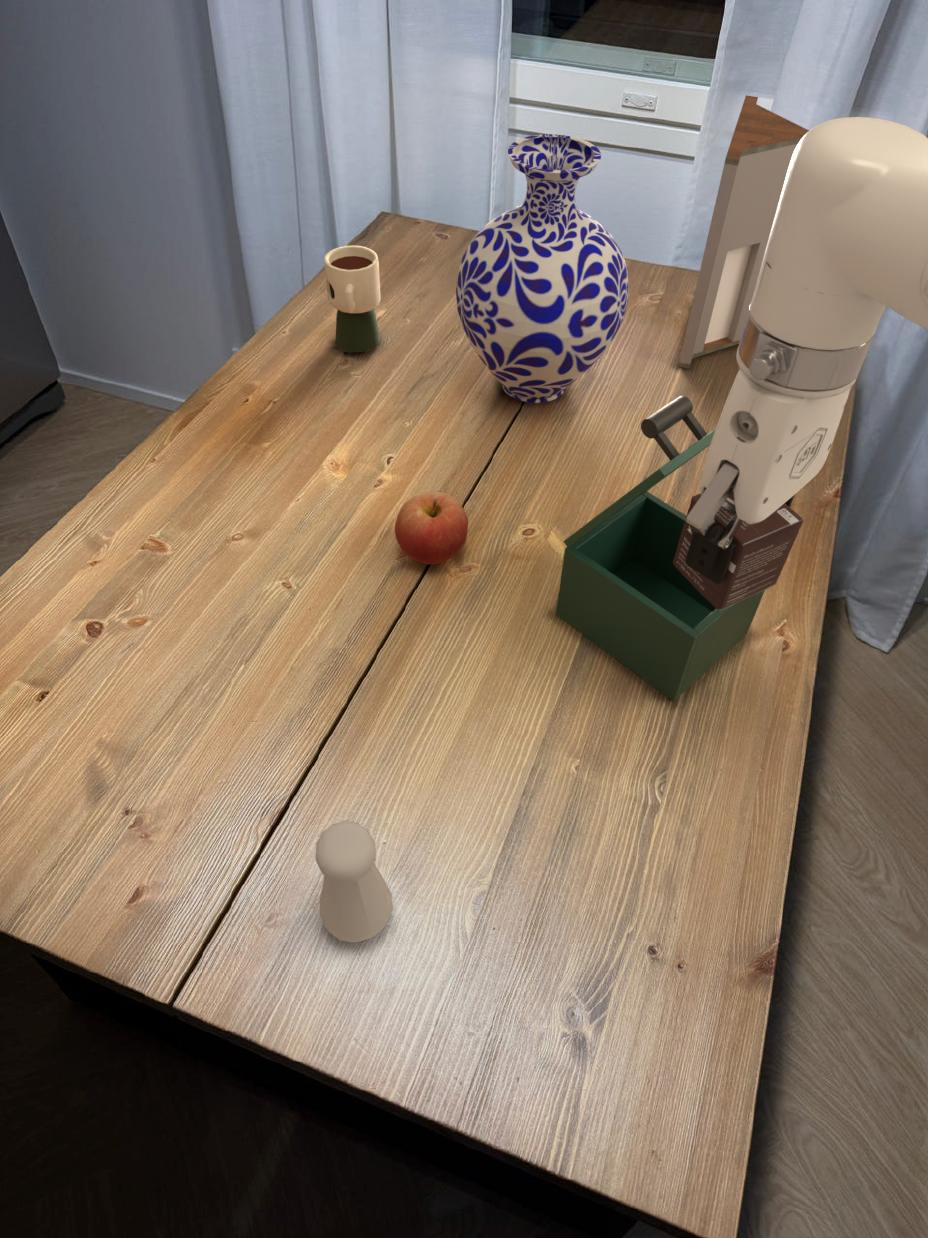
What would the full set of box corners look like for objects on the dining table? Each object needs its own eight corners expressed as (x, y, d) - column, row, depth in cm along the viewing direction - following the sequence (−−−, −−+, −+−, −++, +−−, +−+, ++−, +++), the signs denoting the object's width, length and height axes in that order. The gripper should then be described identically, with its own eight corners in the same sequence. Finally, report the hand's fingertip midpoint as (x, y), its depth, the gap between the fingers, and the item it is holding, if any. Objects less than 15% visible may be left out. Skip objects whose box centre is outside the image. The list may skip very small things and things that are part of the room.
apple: (482, 545, 101) (484, 491, 95) (442, 588, 96) (442, 534, 90) (424, 517, 104) (423, 464, 98) (383, 558, 99) (379, 504, 93)
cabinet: (699, 293, 138) (745, 95, 117) (762, 304, 136) (821, 105, 115) (678, 366, 125) (725, 157, 104) (747, 379, 123) (810, 169, 102)
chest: (747, 634, 93) (773, 569, 85) (673, 702, 87) (694, 638, 80) (630, 556, 100) (645, 490, 93) (555, 614, 94) (564, 548, 87)
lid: (754, 412, 78) (720, 366, 78) (665, 476, 72) (628, 426, 72) (648, 489, 92) (620, 450, 92) (567, 548, 86) (537, 506, 86)
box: (670, 563, 72) (688, 494, 66) (727, 539, 74) (750, 470, 68) (718, 613, 69) (743, 545, 63) (778, 586, 71) (806, 518, 65)
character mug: (337, 323, 130) (328, 237, 121) (386, 325, 130) (381, 238, 121) (328, 366, 123) (319, 277, 114) (380, 367, 123) (374, 279, 114)
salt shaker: (342, 873, 75) (327, 795, 65) (404, 897, 74) (398, 821, 64) (309, 937, 71) (288, 864, 61) (374, 964, 70) (363, 894, 60)
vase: (606, 441, 114) (647, 205, 91) (440, 420, 116) (440, 184, 93) (617, 349, 127) (655, 124, 105) (469, 332, 130) (475, 108, 107)
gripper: (779, 430, 50) (708, 634, 63) (924, 316, 58) (834, 518, 71) (670, 374, 53) (625, 578, 67) (821, 274, 61) (754, 474, 75)
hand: (733, 546), depth 69 cm, fingers closed on box, 7 cm apart
